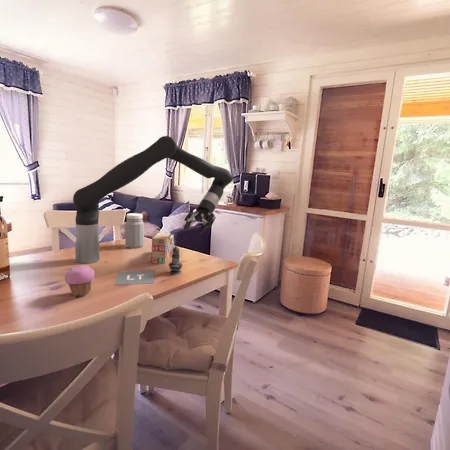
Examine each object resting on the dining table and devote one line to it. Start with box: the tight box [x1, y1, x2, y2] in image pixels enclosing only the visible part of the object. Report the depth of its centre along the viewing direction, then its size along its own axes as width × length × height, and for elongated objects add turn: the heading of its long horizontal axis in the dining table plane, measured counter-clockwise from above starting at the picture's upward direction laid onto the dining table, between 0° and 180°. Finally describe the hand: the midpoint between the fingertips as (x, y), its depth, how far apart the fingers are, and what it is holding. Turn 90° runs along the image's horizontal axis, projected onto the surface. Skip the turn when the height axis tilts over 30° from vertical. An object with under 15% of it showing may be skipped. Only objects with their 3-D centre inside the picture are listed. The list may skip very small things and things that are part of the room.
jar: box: [124, 212, 145, 249], centre depth 159 cm, size 10×10×18 cm
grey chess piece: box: [168, 245, 183, 276], centre depth 122 cm, size 6×6×12 cm
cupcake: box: [64, 264, 96, 297], centre depth 97 cm, size 9×9×10 cm
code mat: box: [114, 270, 155, 286], centre depth 115 cm, size 14×14×1 cm
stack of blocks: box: [151, 232, 175, 265], centre depth 143 cm, size 21×6×12 cm, turn 179°
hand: (192, 231), depth 129 cm, fingers open, 8 cm apart
